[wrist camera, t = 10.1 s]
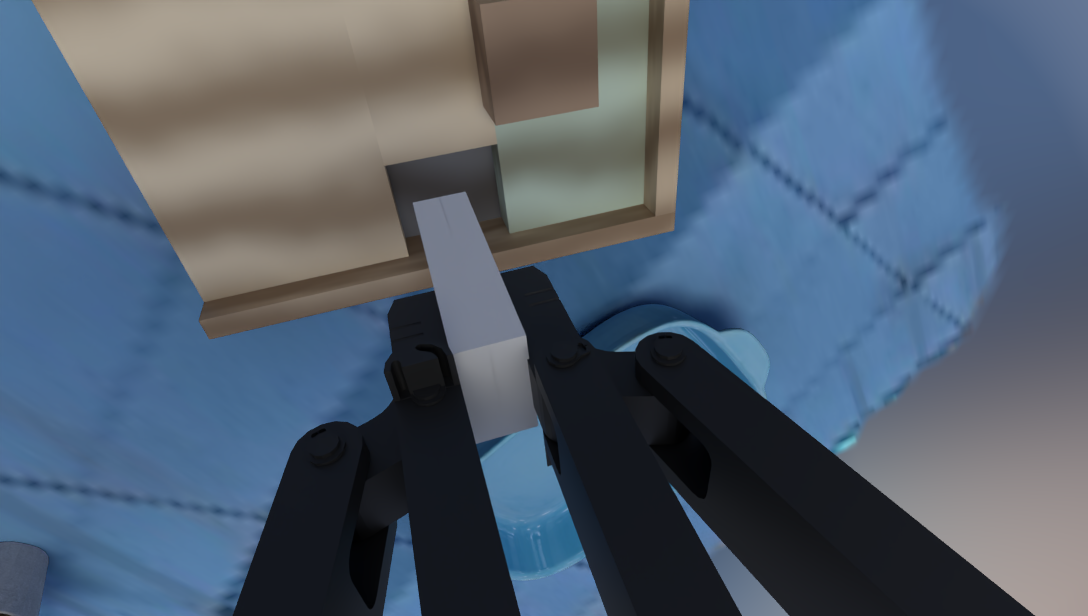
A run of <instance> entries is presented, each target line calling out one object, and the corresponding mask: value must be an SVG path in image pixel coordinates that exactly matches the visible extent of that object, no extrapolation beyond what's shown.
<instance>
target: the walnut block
mask: <svg viewBox="0 0 1088 616" xmlns="http://www.w3.org/2000/svg"><path fill="white" fill-rule="evenodd" d="M468 6H469V12H470V19H471V26H472V33H473V40H474V47H475V54H476V61H477V68H478V75H479V82H480V89H481V96H482V103H483V107H484V108H485V110H486V111H487V113H488V114H489V116H490V117H491V119H492V121H493V122H494V124H495V125H496V126H498V125H503V124H508V123H514V122H519V121H524V120H530V119H535V118H541V117H546V116H551V115H557V114H562V113H568V112H573V111H578V110H584V109H589V108H594V107H599V87H598V35H597V0H468Z"/></svg>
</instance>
